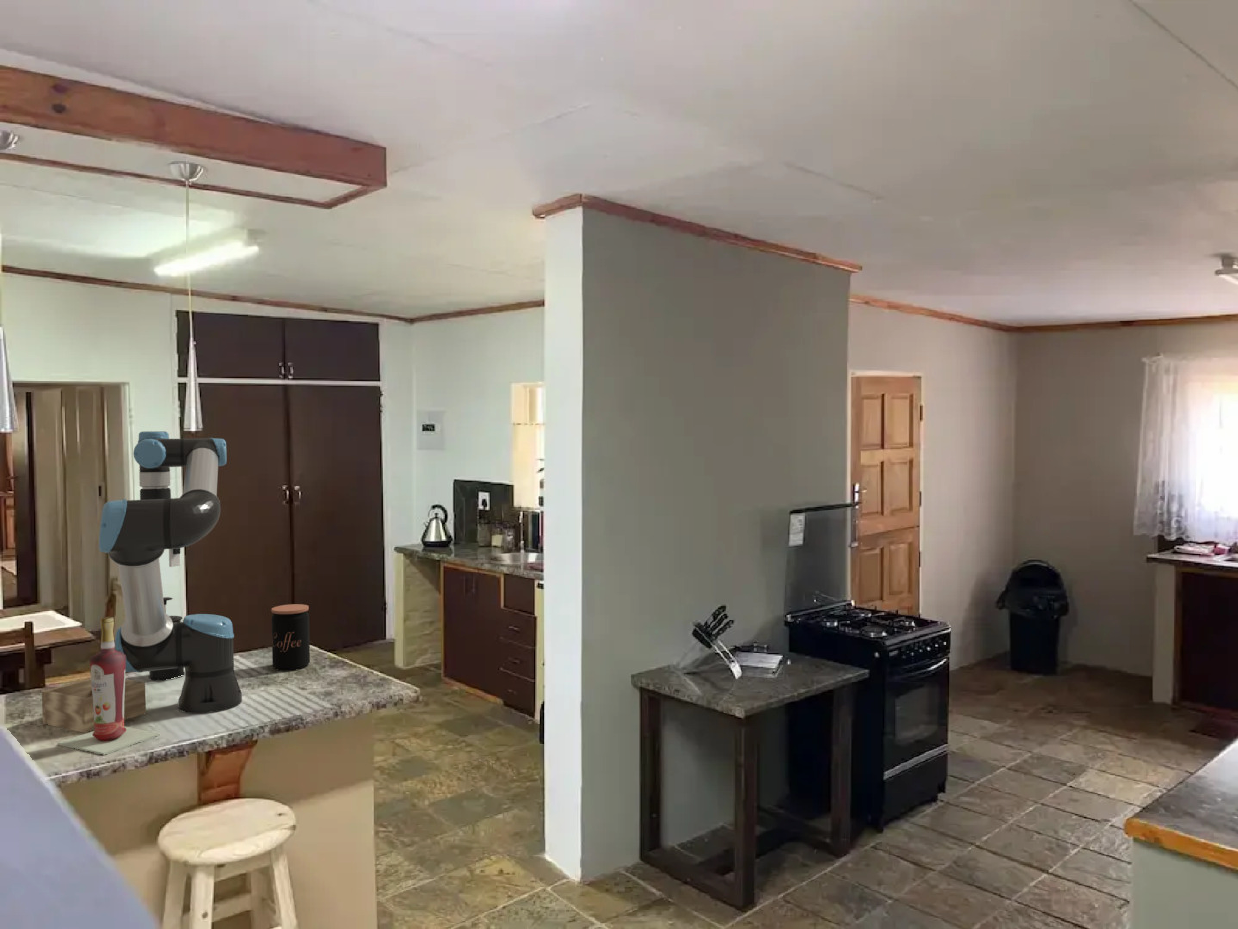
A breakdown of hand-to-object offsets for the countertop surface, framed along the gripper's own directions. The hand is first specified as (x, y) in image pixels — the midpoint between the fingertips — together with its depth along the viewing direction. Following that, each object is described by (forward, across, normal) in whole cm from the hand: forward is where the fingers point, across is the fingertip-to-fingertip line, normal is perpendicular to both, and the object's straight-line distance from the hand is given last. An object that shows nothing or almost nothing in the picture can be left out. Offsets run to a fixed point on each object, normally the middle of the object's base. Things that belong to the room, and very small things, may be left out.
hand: (157, 564), depth 250 cm
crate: (+35, -7, +24) cm, 43 cm away
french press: (+35, +10, -10) cm, 38 cm away
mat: (+35, -25, +33) cm, 54 cm away
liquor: (+34, -25, +33) cm, 54 cm away
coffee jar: (+35, -15, -33) cm, 50 cm away
